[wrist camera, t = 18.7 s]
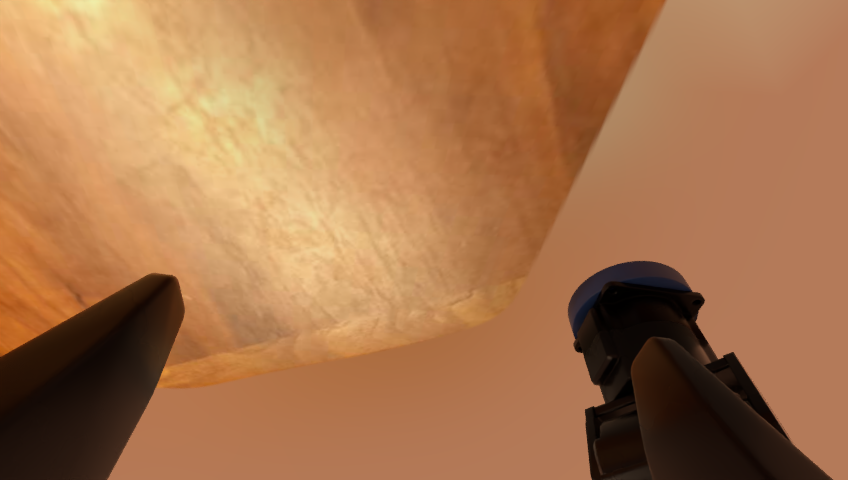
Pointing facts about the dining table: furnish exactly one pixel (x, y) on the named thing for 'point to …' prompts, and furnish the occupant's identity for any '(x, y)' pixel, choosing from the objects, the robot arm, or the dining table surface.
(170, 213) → the dining table surface
